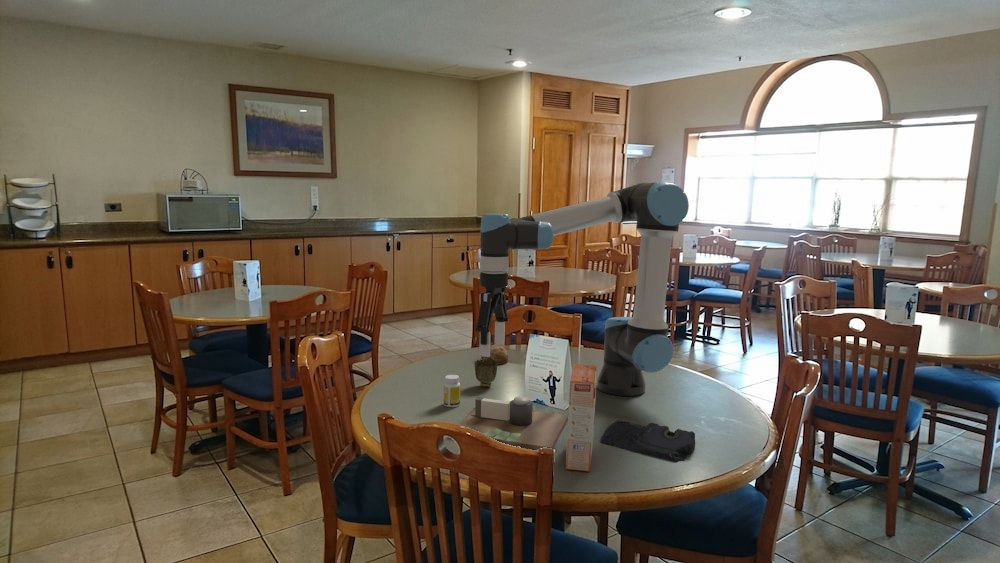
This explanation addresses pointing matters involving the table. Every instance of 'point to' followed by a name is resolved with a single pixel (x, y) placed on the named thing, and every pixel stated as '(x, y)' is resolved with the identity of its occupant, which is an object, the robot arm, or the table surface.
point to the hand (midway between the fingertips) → (492, 350)
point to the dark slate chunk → (650, 440)
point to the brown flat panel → (520, 429)
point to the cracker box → (581, 417)
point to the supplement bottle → (451, 391)
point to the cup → (485, 372)
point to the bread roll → (497, 354)
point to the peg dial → (505, 410)
